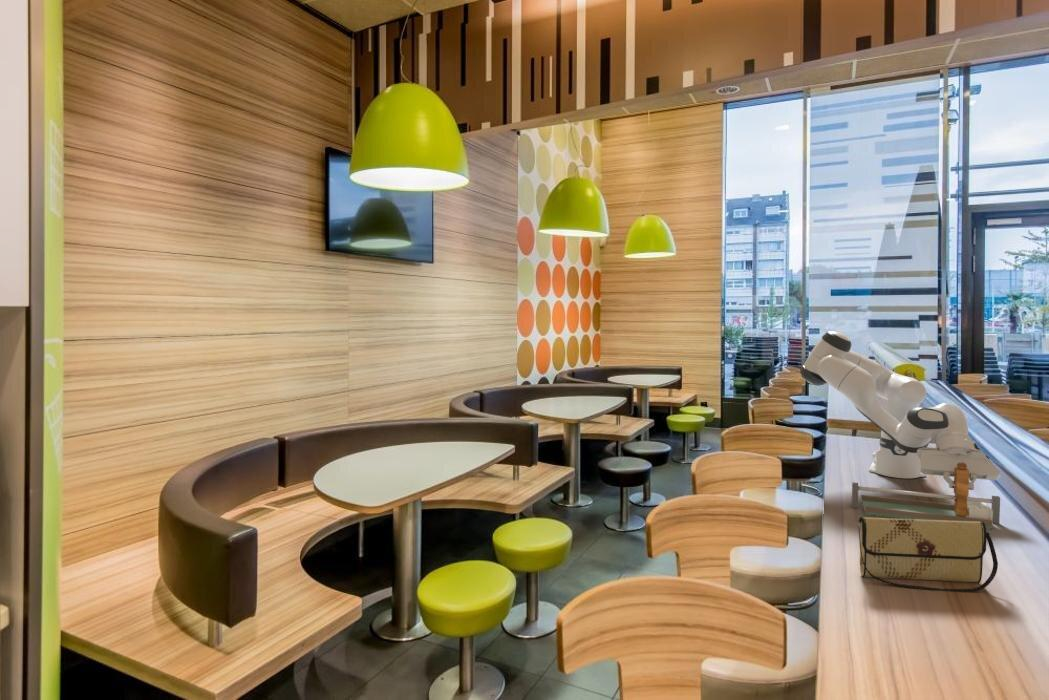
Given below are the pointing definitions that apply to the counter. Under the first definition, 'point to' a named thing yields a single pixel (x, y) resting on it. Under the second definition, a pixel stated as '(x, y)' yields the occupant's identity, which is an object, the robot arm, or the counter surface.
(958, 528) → the clutch purse
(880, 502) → the pitch
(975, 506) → the ball
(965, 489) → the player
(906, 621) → the counter surface
